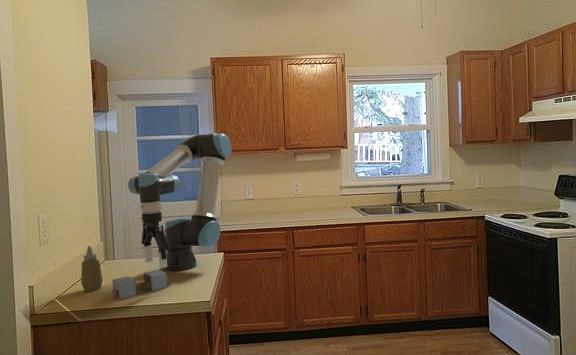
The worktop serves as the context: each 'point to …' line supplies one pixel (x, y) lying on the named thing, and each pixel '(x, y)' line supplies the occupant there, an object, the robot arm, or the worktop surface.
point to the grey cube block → (156, 279)
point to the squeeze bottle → (91, 272)
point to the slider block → (125, 286)
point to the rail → (139, 288)
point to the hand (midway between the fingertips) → (156, 264)
